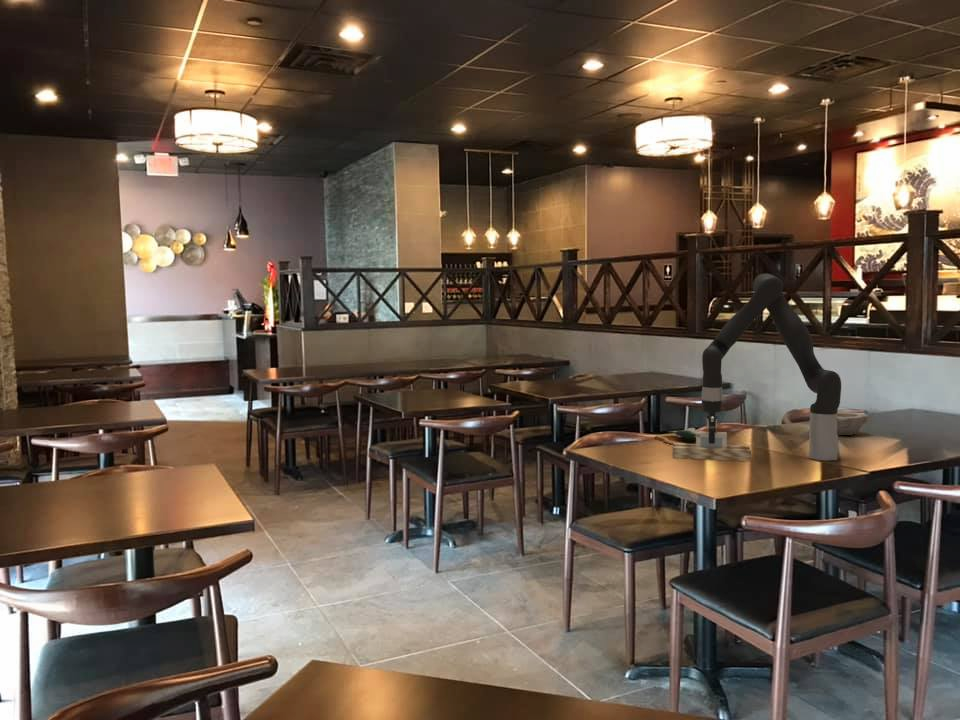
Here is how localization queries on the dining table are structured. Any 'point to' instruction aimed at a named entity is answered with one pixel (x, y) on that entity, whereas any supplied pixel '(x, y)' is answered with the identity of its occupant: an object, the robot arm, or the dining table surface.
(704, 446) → the tapered grey panel
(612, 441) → the dining table surface
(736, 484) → the dining table surface
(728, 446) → the picture ledge
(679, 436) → the decorative plaque
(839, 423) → the mortar
